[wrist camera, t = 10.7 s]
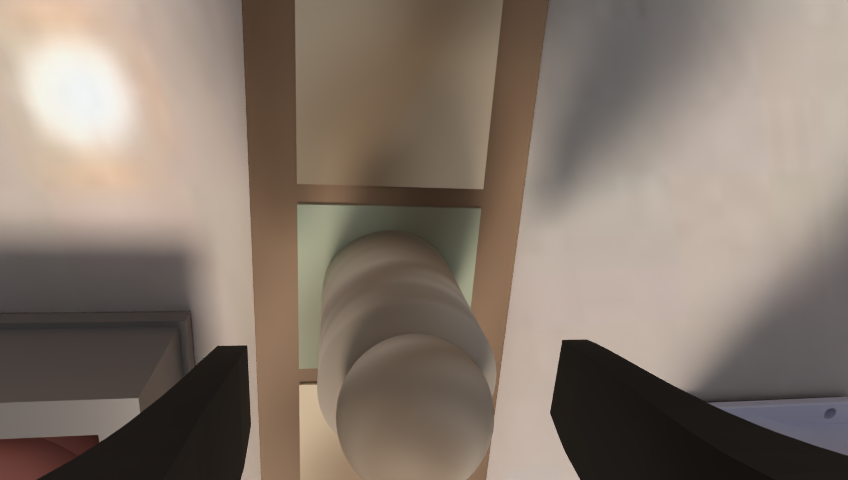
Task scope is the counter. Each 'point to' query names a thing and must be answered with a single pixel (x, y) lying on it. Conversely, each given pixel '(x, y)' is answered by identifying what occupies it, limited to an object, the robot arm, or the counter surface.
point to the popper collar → (87, 369)
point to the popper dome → (40, 455)
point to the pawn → (403, 362)
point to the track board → (377, 173)
